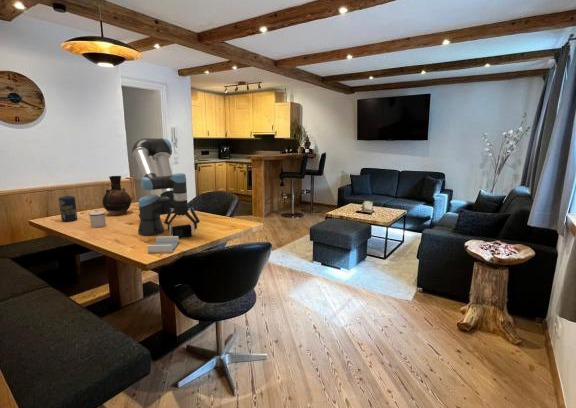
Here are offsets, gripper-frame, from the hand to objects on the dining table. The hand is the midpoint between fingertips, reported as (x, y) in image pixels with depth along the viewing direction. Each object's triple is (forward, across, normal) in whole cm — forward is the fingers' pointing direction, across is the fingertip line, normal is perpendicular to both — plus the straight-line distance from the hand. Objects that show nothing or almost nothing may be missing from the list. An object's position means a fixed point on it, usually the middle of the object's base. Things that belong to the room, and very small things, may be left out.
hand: (182, 234), depth 190 cm
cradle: (+2, -6, -18) cm, 19 cm away
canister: (+1, -89, +46) cm, 101 cm away
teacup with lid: (+1, -63, +30) cm, 70 cm away
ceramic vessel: (+1, -63, +64) cm, 90 cm away
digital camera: (+2, 0, +1) cm, 2 cm away
